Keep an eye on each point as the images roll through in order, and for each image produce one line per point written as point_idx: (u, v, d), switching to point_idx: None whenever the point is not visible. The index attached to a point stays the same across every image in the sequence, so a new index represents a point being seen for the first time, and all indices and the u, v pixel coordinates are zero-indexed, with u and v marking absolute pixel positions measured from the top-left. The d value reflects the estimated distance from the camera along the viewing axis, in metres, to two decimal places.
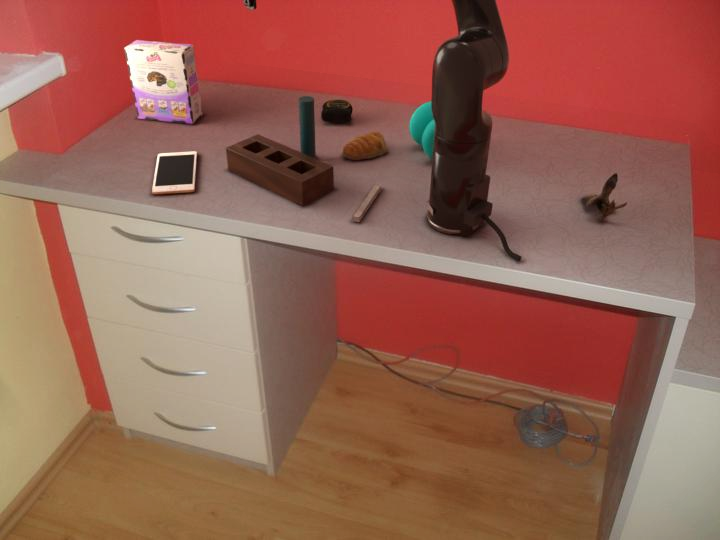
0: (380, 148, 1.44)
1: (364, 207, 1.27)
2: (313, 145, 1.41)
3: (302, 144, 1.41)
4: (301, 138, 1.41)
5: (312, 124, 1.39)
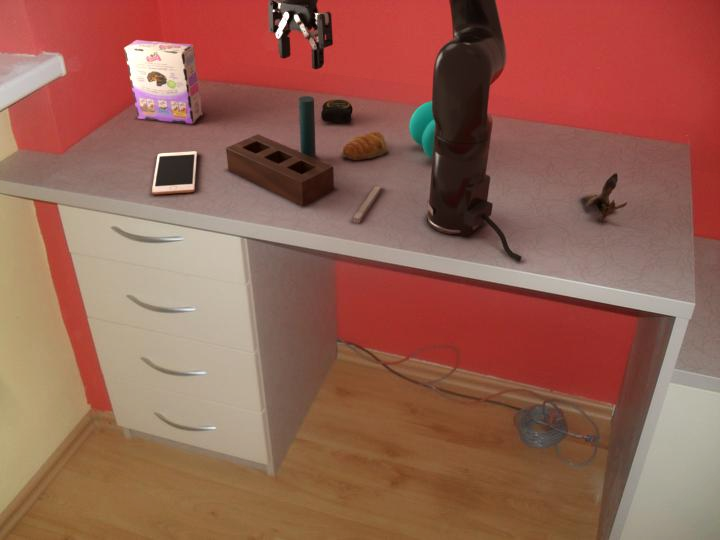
0: (380, 148, 1.44)
1: (364, 208, 1.27)
2: (313, 145, 1.41)
3: (302, 144, 1.41)
4: (301, 138, 1.41)
5: (312, 124, 1.39)
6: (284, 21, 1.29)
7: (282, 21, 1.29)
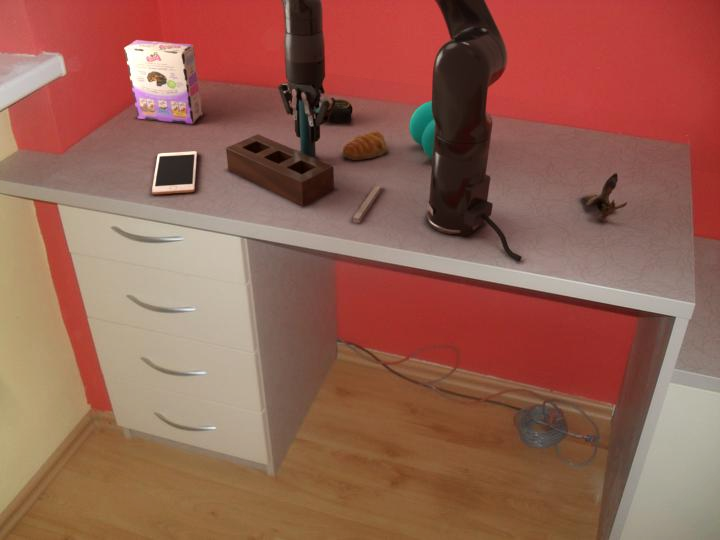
0: (380, 148, 1.44)
1: (364, 208, 1.27)
2: (313, 145, 1.41)
3: (302, 144, 1.41)
4: (301, 138, 1.41)
5: None
6: (294, 99, 1.36)
7: (293, 100, 1.37)
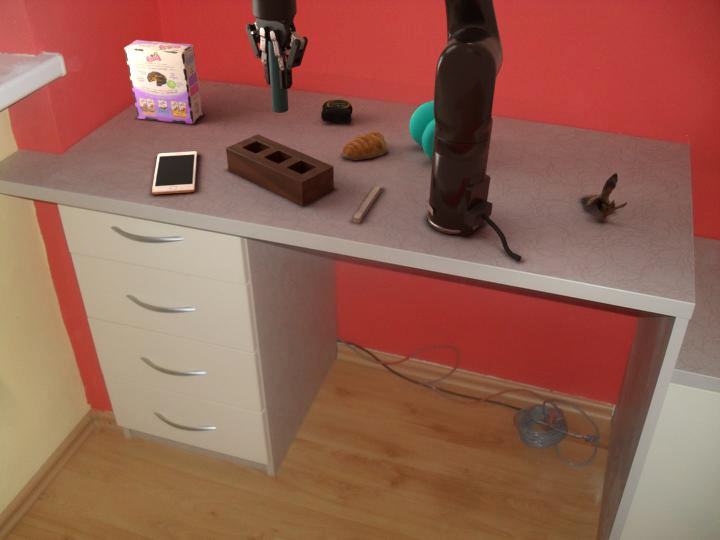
0: (380, 148, 1.44)
1: (364, 208, 1.27)
2: (285, 93, 1.27)
3: (272, 92, 1.27)
4: (271, 85, 1.26)
5: None
6: (263, 40, 1.22)
7: (261, 41, 1.23)
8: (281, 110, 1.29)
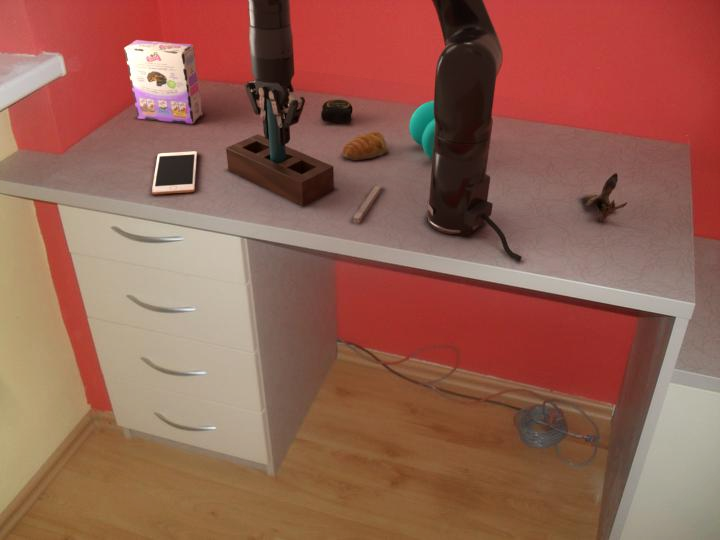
0: (380, 148, 1.44)
1: (364, 208, 1.27)
2: (283, 147, 1.32)
3: (271, 146, 1.32)
4: (270, 140, 1.31)
5: None
6: (262, 98, 1.27)
7: (260, 100, 1.27)
8: None
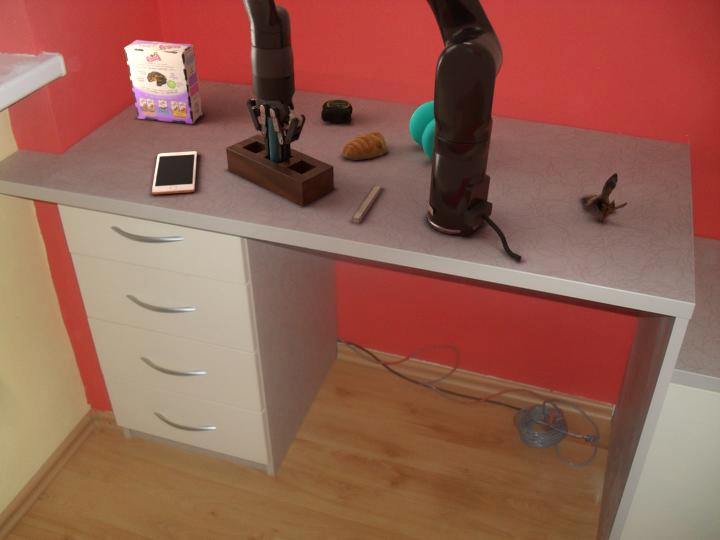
0: (380, 148, 1.44)
1: (364, 208, 1.27)
2: None
3: None
4: (271, 156, 1.33)
5: None
6: (263, 116, 1.29)
7: (261, 117, 1.29)
8: None
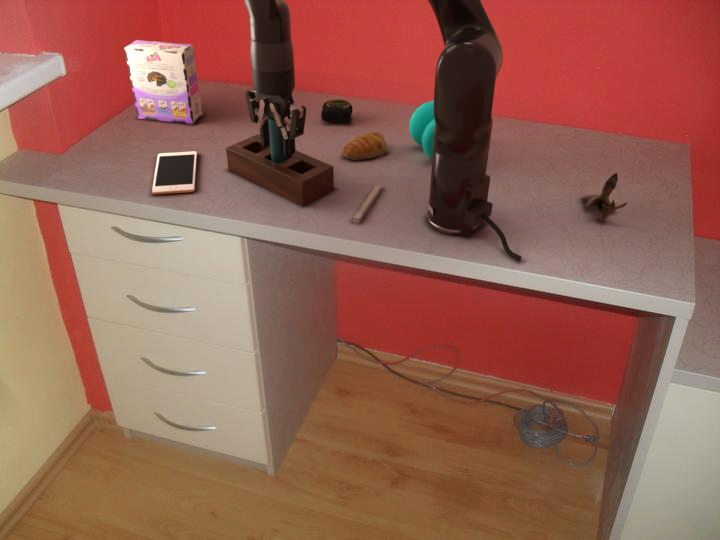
0: (380, 148, 1.44)
1: (364, 208, 1.27)
2: None
3: None
4: (272, 158, 1.33)
5: None
6: (261, 110, 1.29)
7: (260, 110, 1.29)
8: None
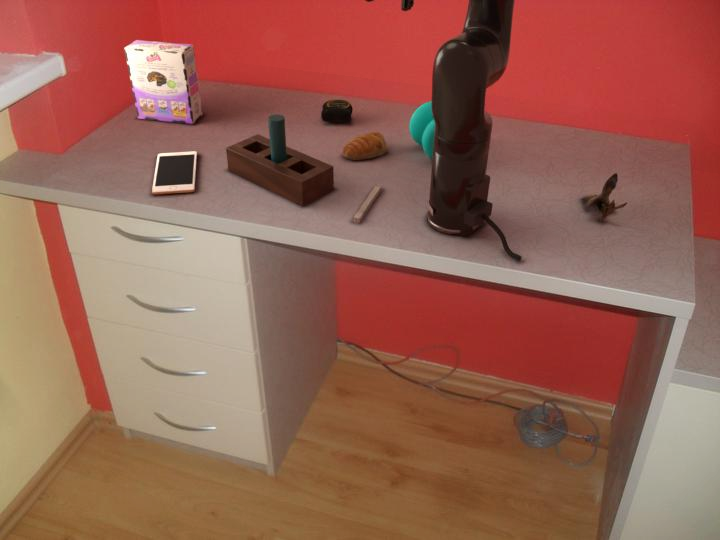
0: (380, 148, 1.44)
1: (364, 208, 1.27)
2: None
3: None
4: (272, 158, 1.33)
5: (283, 144, 1.32)
6: None
7: None
8: None
